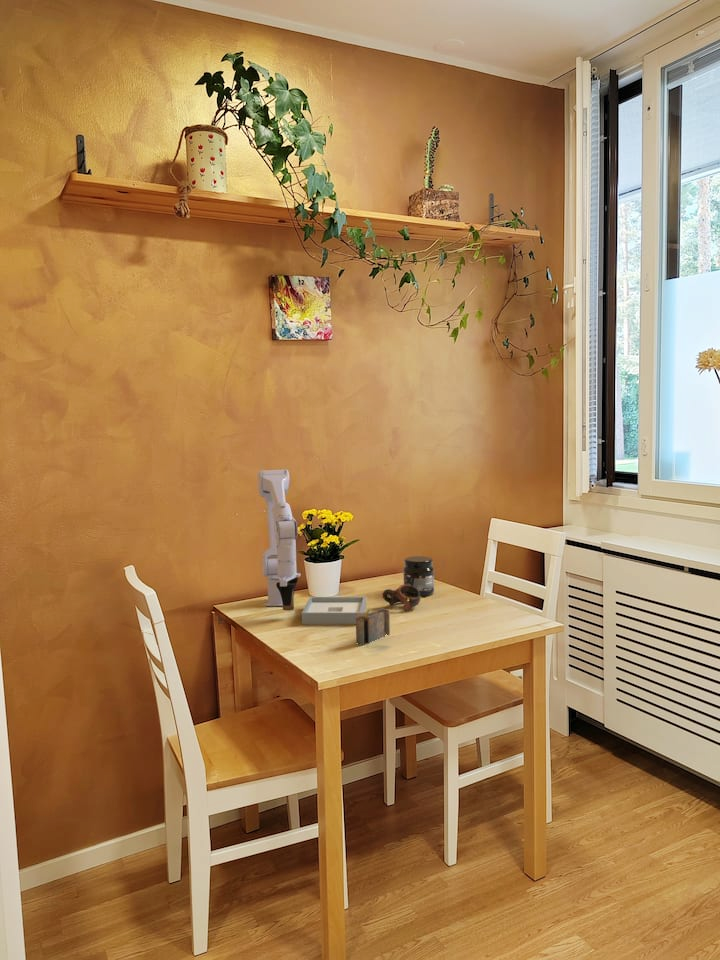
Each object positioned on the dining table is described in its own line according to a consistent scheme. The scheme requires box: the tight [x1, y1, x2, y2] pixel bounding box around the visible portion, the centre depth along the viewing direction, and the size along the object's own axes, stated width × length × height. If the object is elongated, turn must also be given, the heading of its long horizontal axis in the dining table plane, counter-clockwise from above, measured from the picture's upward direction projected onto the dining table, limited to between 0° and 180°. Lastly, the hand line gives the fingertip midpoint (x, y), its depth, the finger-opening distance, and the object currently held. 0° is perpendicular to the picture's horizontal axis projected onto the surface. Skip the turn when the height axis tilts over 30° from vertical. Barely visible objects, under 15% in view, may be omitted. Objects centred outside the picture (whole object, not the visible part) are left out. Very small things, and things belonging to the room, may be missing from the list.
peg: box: [282, 592, 295, 611], centre depth 224 cm, size 3×3×6 cm
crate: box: [301, 596, 367, 626], centre depth 226 cm, size 18×18×4 cm
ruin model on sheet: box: [355, 608, 391, 646], centre depth 203 cm, size 11×3×10 cm, turn 139°
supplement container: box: [402, 555, 435, 598], centre depth 250 cm, size 10×10×12 cm
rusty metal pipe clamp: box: [382, 584, 421, 612], centre depth 233 cm, size 12×10×8 cm
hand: (288, 603), depth 224 cm, fingers closed on peg, 3 cm apart
